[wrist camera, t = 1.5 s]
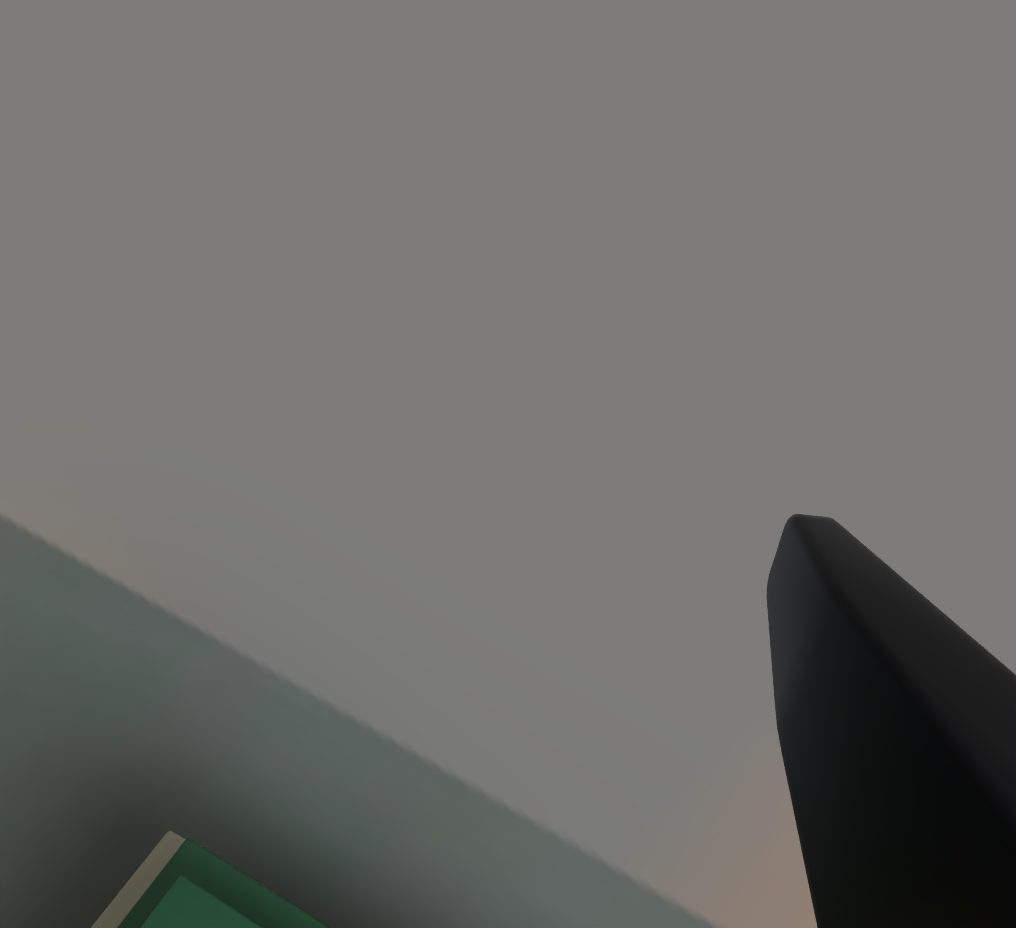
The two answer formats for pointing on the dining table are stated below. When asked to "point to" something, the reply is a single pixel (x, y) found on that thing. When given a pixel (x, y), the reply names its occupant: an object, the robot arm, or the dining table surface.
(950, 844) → the robot arm
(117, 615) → the dining table surface
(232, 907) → the stack of green books
